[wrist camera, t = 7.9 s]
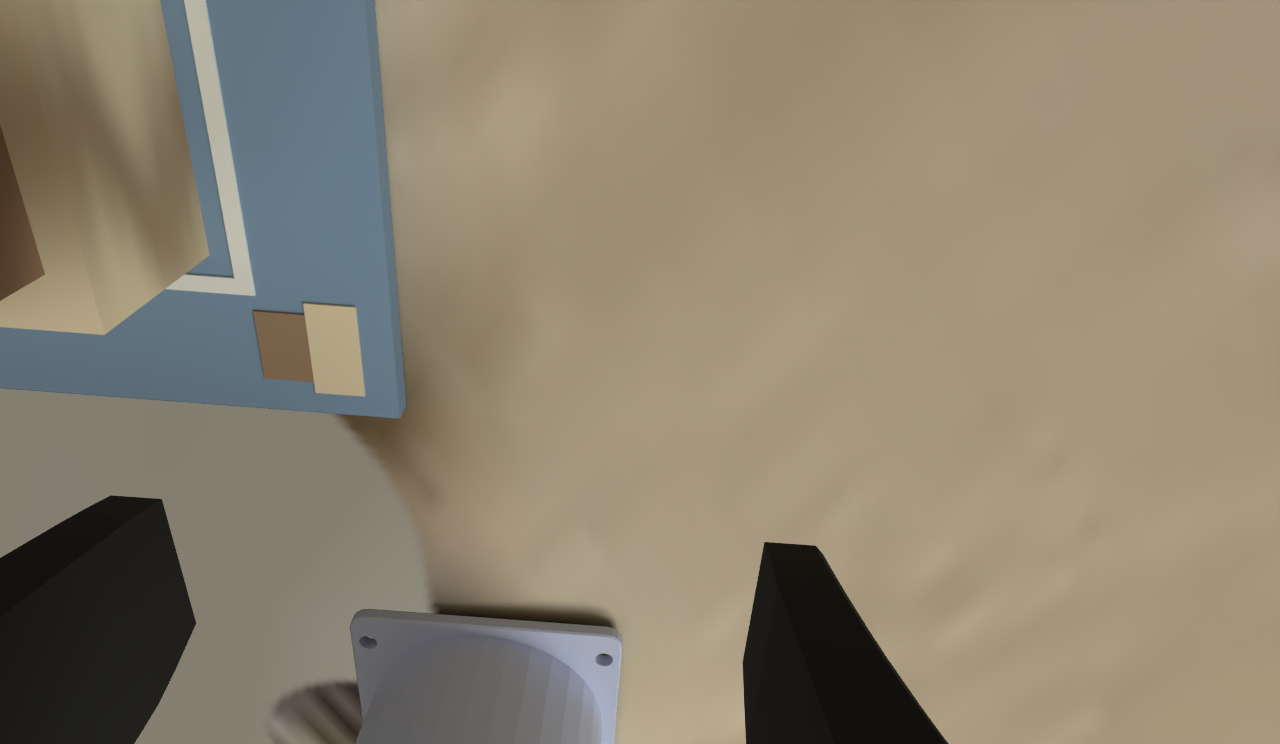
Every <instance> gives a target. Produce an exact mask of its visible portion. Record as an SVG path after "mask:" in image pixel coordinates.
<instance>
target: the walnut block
mask: <svg viewBox="0 0 1280 744" xmlns="http://www.w3.org/2000/svg"><path fill="white" fill-rule="evenodd" d="M43 275H45V272H44V269H43V266H42V262H41V259H40V256H39V252H38V249H37V246H36V242H35V239H34V236H33V232H32V229H31V226H30V222H29V219H28V216H27V212H26V209H25V206H24V202H23V199H22V196H21V192H20V189H19V186H18V182H17V179H16V176H15V172H14V169H13V166H12V162H11V159H10V156H9V152H8V149H7V146H6V142H5V139H4V136H3V132H2V129H1V126H0V301H1V300H3V299H4V298H6V297H8V296H9V295H11V294H13V293H15V292H16V291H18V290H20V289H21V288H23V287H25V286H26V285H28V284H30V283H32V282H33V281H35V280H37V279H38V278H40V277H42V276H43Z"/></svg>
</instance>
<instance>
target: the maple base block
mask: <svg viewBox="0 0 1280 744" xmlns="http://www.w3.org/2000/svg"><path fill="white" fill-rule="evenodd" d="M0 126H1V129H2V132H3V136H4V139H5V142H6V146H7V149H8V152H9V156H10V159H11V162H12V166H13V169H14V172H15V176H16V179H17V182H18V186H19V189H20V192H21V196H22V199H23V202H24V206H25V209H26V212H27V216H28V219H29V222H30V226H31V229H32V232H33V236H34V239H35V242H36V246H37V249H38V252H39V256H40V259H41V262H42V266H43V269H44V272H45V275H43V276H42V277H40V278H38V279H37V280H35V281H33V282H32V283H30V284H28V285H26V286H25V287H23V288H21V289H20V290H18V291H16V292H15V293H13V294H11V295H9V296H8V297H6V298H4V299H3V300H1V301H0V327H7V328H20V329H33V330H46V331H59V332H72V333H85V334H98V335H105V334H106V333H108V332H109V331H110V330H112V329H113V328H114V327H116V326H117V325H118V324H120V323H121V322H122V321H124V320H125V319H126V318H127V317H129V316H130V315H131V314H133V313H134V312H135V311H137V310H138V309H139V308H141V307H142V306H143V305H145V304H146V303H147V302H149V301H150V300H151V299H153V298H154V297H155V296H157V295H158V294H159V293H161V292H162V291H163V290H164V289H166V288H167V287H168V286H170V285H171V284H172V283H174V282H175V281H176V280H178V279H179V278H180V277H182V276H183V275H184V274H186V273H187V272H188V271H190V270H191V269H192V268H194V267H195V266H196V265H197V264H199V263H200V262H201V261H203V260H204V259H205V258H207V257H208V256H209V250H208V244H207V239H206V234H205V229H204V224H203V219H202V214H201V208H200V203H199V198H198V193H197V188H196V183H195V178H194V172H193V167H192V162H191V157H190V152H189V147H188V141H187V136H186V131H185V126H184V121H183V116H182V111H181V105H180V100H179V95H178V90H177V85H176V80H175V74H174V69H173V64H172V59H171V54H170V49H169V44H168V38H167V33H166V28H165V23H164V18H163V13H162V7H161V2H160V0H0Z"/></svg>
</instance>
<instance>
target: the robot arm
mask: <svg viewBox="0 0 1280 744" xmlns="http://www.w3.org/2000/svg"><path fill="white" fill-rule="evenodd" d="M195 625H196V622H195V618H194V614H193V611H192V607H191V603H190V600H189V597H188V592H187V589H186V586H185V582H184V578H183V574H182V571H181V567H180V564H179V560H178V556H177V553H176V549H175V546H174V542H173V538H172V535H171V531H170V528H169V524H168V520H167V517H166V513H165V509H164V506H163V502H162V499H152V498H138V497H123V496H109V497H107V498H105V499H103V500H101V501H100V502H97V503H96V504H94V505H92V506H90V507H88V508H86V509H84V510H82V511H81V512H79V513H77V514H75V515H73V516H72V517H70V518H68V519H66V520H65V521H63V522H61V523H59V524H58V525H56V526H54V527H53V528H51V529H49V530H47V531H46V532H44V533H42V534H40V535H39V536H37V537H35V538H34V539H32V540H30V541H29V542H27V543H25V544H23V545H22V546H20V547H19V548H17V549H15V550H13V551H12V552H10V553H8V554H6V555H5V556H3V557H1V558H0V744H134V743H135V741H136V739H137V738H138V737H139V735H140V733H141V732H142V730H143V729H144V727H145V725H146V724H147V722H148V720H149V719H150V717H151V715H152V714H153V712H154V710H155V709H156V707H157V706H158V704H159V702H160V700H161V698H162V696H163V694H164V692H165V690H166V688H167V686H168V684H169V681H170V679H171V677H172V675H173V673H174V671H175V669H176V667H177V665H178V662H179V660H180V658H181V656H182V654H183V651H184V649H185V647H186V645H187V642H188V640H189V638H190V636H191V634H192V631H193V629H194V627H195ZM350 631H351V638H352V645H353V652H354V659H355V667H356V674H357V681H358V689H359V696H360V703H361V710H362V717H363V724H362V727H361V729H360V732H359V735H358V737H357V740H356V743H355V744H614V737H615V725H616V713H617V702H618V690H619V678H620V666H621V654H622V641H623V640H622V635H621V634H620V633H619V631H617V630H615V629H614V628H611V627H605V626H592V625H578V624H564V623H551V622H537V621H524V620H510V619H497V618H483V617H470V616H456V615H443V614H429V613H414V612H402V611H388V610H375V609H374V610H373V609H364V610H360V611H358V612H357V613H356V614H355V615H354V617H353V619H352V622H351V625H350ZM367 636H369V637H372V638H374V639H372V638H369V637H367ZM604 653H605V654H608V655H606V656H604V655H600V654H604ZM743 679H744V706H745V727H746V744H948V743H947V741H946V740H945V739H944V737H943V736H942V735H941V733H940V732H939V731H938V729H937V728H936V727H935V725H934V724H933V723H932V721H931V720H930V718H929V717H928V716H927V714H926V713H925V712H924V710H923V709H922V708H921V706H920V705H919V703H918V702H917V700H916V699H915V698H914V696H913V695H912V693H911V692H910V690H909V689H908V687H907V686H906V685H905V683H904V682H903V680H902V679H901V677H900V676H899V675H898V673H897V672H896V670H895V669H894V667H893V666H892V664H891V663H890V662H889V660H888V659H887V657H886V656H885V654H884V653H883V651H882V650H881V648H880V647H879V645H878V644H877V642H876V641H875V639H874V637H873V636H872V634H871V633H870V631H869V630H868V628H867V627H866V625H865V623H864V622H863V620H862V619H861V617H860V615H859V614H858V612H857V611H856V609H855V608H854V606H853V604H852V603H851V601H850V599H849V598H848V596H847V595H846V593H845V591H844V590H843V588H842V586H841V585H840V583H839V581H838V579H837V578H836V576H835V574H834V573H833V571H832V569H831V568H830V566H829V564H828V562H827V561H826V559H825V557H824V555H823V554H822V553H821V552H820V550H819V549H818V548H817V547H816V546H811V545H797V544H783V543H769V542H764V548H763V554H762V559H761V565H760V570H759V576H758V581H757V587H756V592H755V598H754V603H753V609H752V614H751V620H750V625H749V631H748V636H747V642H746V647H745V653H744V658H743Z"/></svg>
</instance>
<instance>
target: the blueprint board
mask: <svg viewBox="0 0 1280 744" xmlns="http://www.w3.org/2000/svg"><path fill="white" fill-rule="evenodd" d="M160 2H161V7H162V13H163V18H164V23H165V28H166V33H167V38H168V44H169V49H170V54H171V59H172V64H173V69H174V74H175V80H176V85H177V90H178V95H179V100H180V105H181V111H182V116H183V121H184V126H185V131H186V136H187V141H188V147H189V152H190V157H191V162H192V167H193V172H194V178H195V183H196V188H197V193H198V198H199V203H200V208H201V214H202V219H203V224H204V229H205V234H206V239H207V244H208V250H209V256H208V257H207V258H205V259H204V260H203V261H201V262H200V263H199V264H197V265H196V266H195V267H194V268H192V269H191V270H190V271H188V272H187V273H186V274H184V275H183V276H182V277H180V278H179V279H178V280H176V281H175V282H174V283H172V284H171V285H170V286H168V287H167V288H166V289H164V290H163V291H162V292H161V293H159V294H158V295H157V296H155V297H154V298H153V299H151V300H150V301H149V302H147V303H146V304H145V305H143V306H142V307H141V308H139V309H138V310H137V311H135V312H134V313H133V314H131V315H130V316H129V317H127V318H126V319H125V320H124V321H122V322H121V323H120V324H118V325H117V326H116V327H114V328H113V329H112V330H110V331H109V332H108V333H106V334H105V335H98V334H85V333H72V332H59V331H46V330H33V329H20V328H7V327H0V388H4V389H17V390H30V391H44V392H57V393H70V394H83V395H96V396H110V397H123V398H137V399H150V400H162V401H163V400H164V401H176V402H189V403H202V404H216V405H228V406H242V407H255V408H268V409H281V410H294V411H308V412H321V413H334V414H347V415H360V416H374V417H387V418H400V417H401V415H402V413H403V411H404V409H405V407H406V395H405V383H404V370H403V357H402V344H401V332H400V319H399V306H398V294H397V281H396V268H395V255H394V243H393V230H392V217H391V204H390V192H389V179H388V166H387V153H386V141H385V128H384V115H383V102H382V90H381V77H380V64H379V52H378V39H377V26H376V13H375V1H374V0H160Z"/></svg>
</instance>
